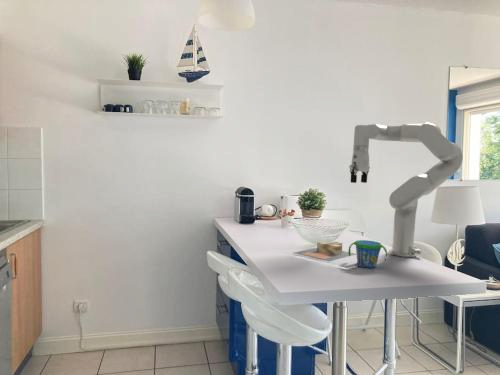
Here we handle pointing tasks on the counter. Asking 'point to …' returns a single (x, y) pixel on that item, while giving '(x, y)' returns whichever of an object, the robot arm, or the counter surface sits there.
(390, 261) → the counter surface
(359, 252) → the snack cup
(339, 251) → the t block
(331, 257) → the board
